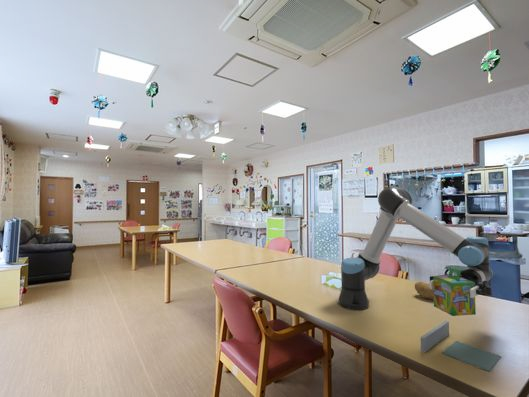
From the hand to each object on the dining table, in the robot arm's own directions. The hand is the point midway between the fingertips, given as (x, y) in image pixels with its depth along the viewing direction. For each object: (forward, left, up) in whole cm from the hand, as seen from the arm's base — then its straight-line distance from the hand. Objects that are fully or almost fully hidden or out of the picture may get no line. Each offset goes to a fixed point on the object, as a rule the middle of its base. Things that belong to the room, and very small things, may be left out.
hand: (449, 289), depth 95 cm
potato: (-28, +51, -22) cm, 63 cm away
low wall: (-6, +3, -22) cm, 23 cm away
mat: (+5, +3, -22) cm, 23 cm away
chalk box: (0, +4, -9) cm, 9 cm away
